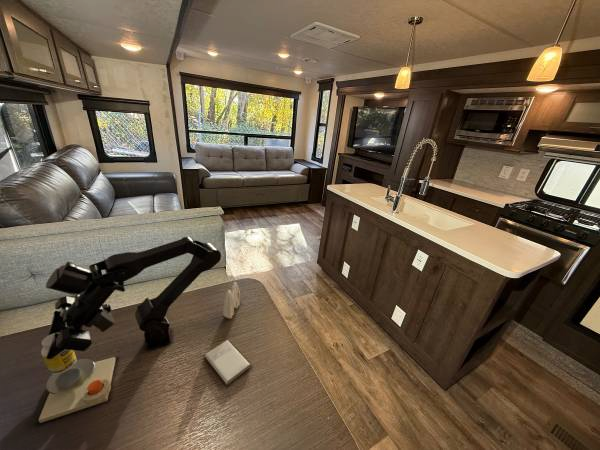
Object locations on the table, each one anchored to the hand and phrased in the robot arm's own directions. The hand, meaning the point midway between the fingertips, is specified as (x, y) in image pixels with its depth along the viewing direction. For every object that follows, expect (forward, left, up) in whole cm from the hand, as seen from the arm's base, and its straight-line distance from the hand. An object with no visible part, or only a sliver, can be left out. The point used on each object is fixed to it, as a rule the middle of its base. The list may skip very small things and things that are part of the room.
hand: (48, 350), depth 62 cm
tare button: (-9, +8, -10) cm, 15 cm away
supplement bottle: (-1, 0, -7) cm, 7 cm away
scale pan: (-3, +1, -9) cm, 10 cm away
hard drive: (-42, +10, -13) cm, 45 cm away
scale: (-5, +3, -12) cm, 14 cm away
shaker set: (-48, -12, -13) cm, 51 cm away
